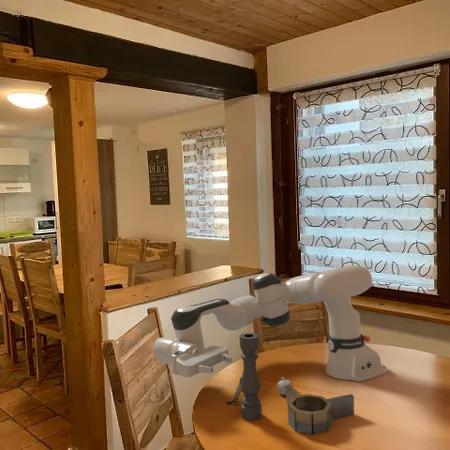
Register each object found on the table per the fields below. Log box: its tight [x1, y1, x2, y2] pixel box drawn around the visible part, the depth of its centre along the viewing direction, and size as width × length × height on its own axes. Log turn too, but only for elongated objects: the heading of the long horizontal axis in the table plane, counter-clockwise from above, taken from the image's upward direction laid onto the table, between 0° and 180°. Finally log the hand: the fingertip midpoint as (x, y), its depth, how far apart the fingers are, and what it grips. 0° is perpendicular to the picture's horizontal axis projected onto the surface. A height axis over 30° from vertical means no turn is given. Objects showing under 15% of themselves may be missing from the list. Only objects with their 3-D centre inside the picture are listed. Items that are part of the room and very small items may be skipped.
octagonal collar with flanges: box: [285, 384, 355, 436], centre depth 142 cm, size 20×20×6 cm
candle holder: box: [239, 332, 263, 422], centre depth 142 cm, size 6×6×25 cm
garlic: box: [276, 377, 294, 396], centre depth 157 cm, size 6×5×5 cm
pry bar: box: [226, 376, 242, 407], centre depth 160 cm, size 21×7×1 cm, turn 166°
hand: (221, 365), depth 149 cm, fingers open, 8 cm apart
